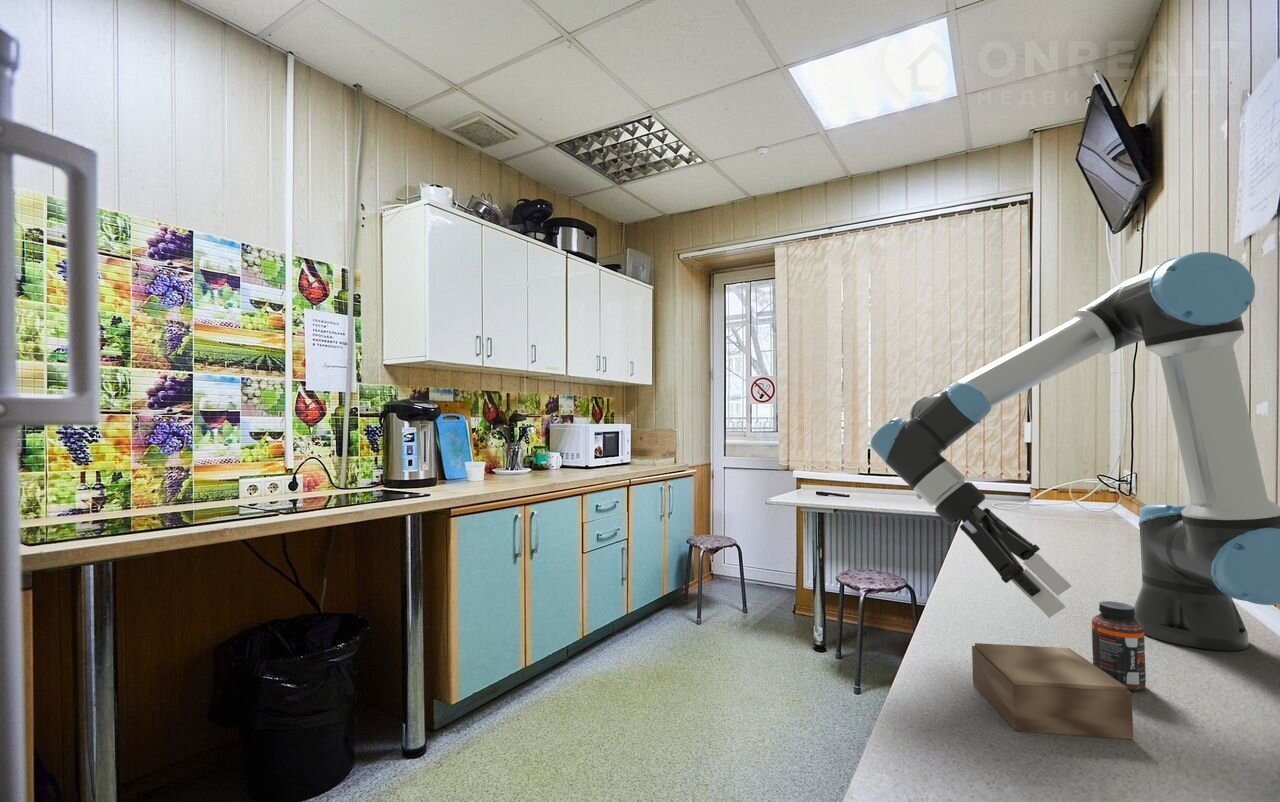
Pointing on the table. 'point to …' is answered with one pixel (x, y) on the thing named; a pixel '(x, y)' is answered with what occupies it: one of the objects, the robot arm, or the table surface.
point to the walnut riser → (1052, 691)
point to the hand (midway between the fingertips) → (1061, 601)
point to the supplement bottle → (1119, 644)
